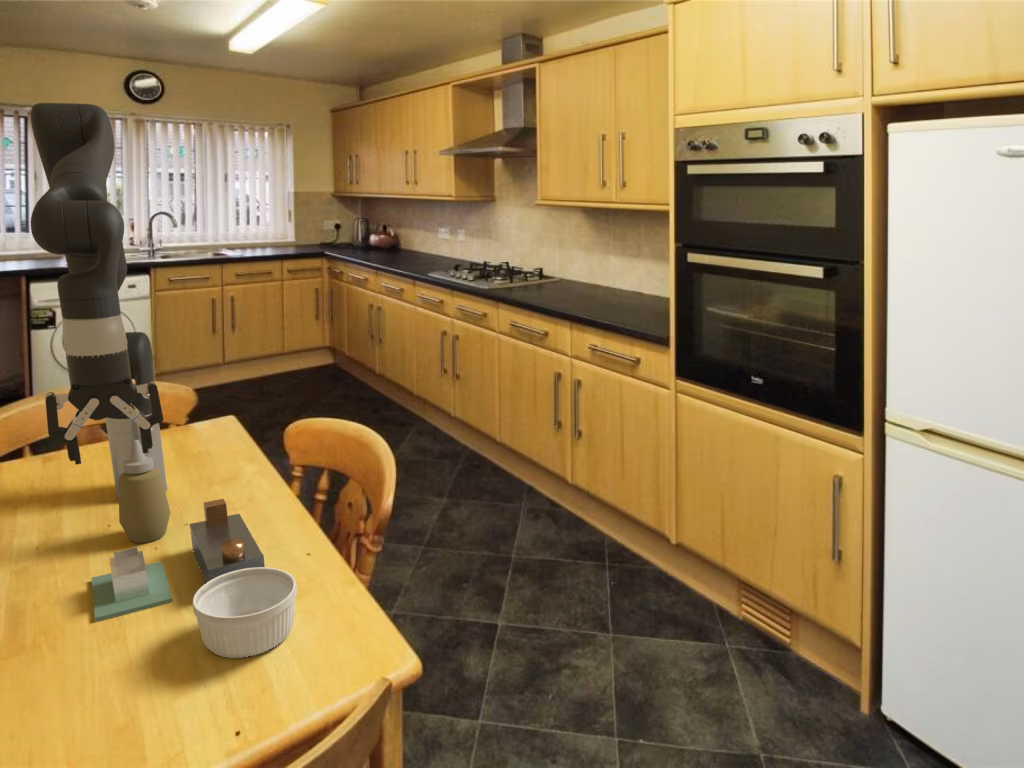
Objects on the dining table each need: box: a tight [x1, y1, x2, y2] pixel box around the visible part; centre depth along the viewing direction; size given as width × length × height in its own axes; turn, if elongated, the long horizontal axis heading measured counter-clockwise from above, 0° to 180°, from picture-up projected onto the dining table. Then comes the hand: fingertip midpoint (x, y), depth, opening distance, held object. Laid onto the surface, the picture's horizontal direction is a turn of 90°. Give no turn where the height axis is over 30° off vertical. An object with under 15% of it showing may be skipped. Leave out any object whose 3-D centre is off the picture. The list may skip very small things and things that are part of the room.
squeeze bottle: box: [118, 440, 171, 544], centre depth 122 cm, size 8×8×18 cm
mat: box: [91, 560, 174, 623], centre depth 107 cm, size 13×10×1 cm
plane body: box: [189, 498, 266, 584], centre depth 113 cm, size 18×8×9 cm, turn 32°
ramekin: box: [192, 566, 298, 659], centre depth 95 cm, size 13×13×7 cm
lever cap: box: [108, 546, 150, 602], centre depth 106 cm, size 7×4×5 cm, turn 32°
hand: (112, 457), depth 101 cm, fingers open, 8 cm apart
